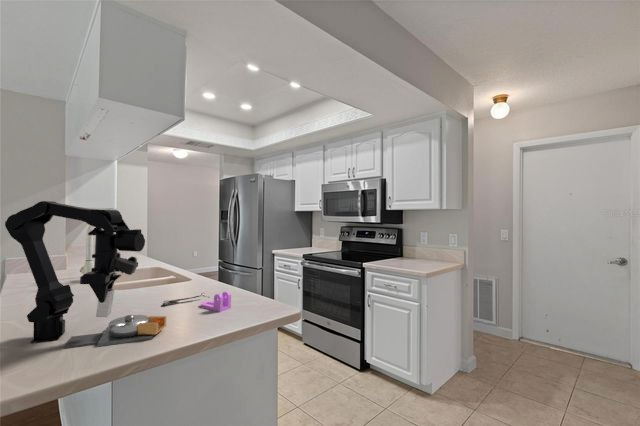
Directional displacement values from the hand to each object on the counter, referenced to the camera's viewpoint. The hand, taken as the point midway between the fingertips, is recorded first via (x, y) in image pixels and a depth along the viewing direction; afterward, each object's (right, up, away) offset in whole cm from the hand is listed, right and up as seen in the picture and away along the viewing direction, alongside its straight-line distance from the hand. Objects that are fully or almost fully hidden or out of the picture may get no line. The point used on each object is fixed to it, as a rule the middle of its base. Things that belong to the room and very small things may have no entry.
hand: (104, 300), depth 95 cm
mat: (-5, -12, -2) cm, 13 cm away
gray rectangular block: (0, -5, 0) cm, 5 cm away
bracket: (+23, -12, +32) cm, 42 cm away
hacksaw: (+6, -12, +44) cm, 46 cm away
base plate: (+5, -12, +4) cm, 13 cm away
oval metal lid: (+8, -10, +4) cm, 14 cm away
